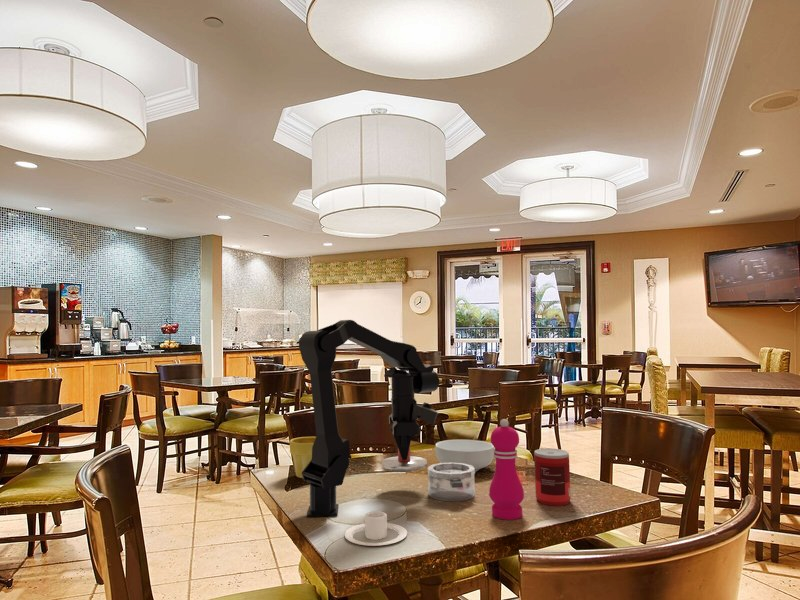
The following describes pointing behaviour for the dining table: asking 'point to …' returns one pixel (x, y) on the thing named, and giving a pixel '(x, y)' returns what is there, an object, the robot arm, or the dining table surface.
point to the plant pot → (301, 453)
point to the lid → (404, 463)
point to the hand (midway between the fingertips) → (404, 458)
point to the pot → (451, 481)
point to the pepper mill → (505, 474)
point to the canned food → (552, 476)
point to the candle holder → (375, 529)
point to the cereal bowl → (465, 452)
